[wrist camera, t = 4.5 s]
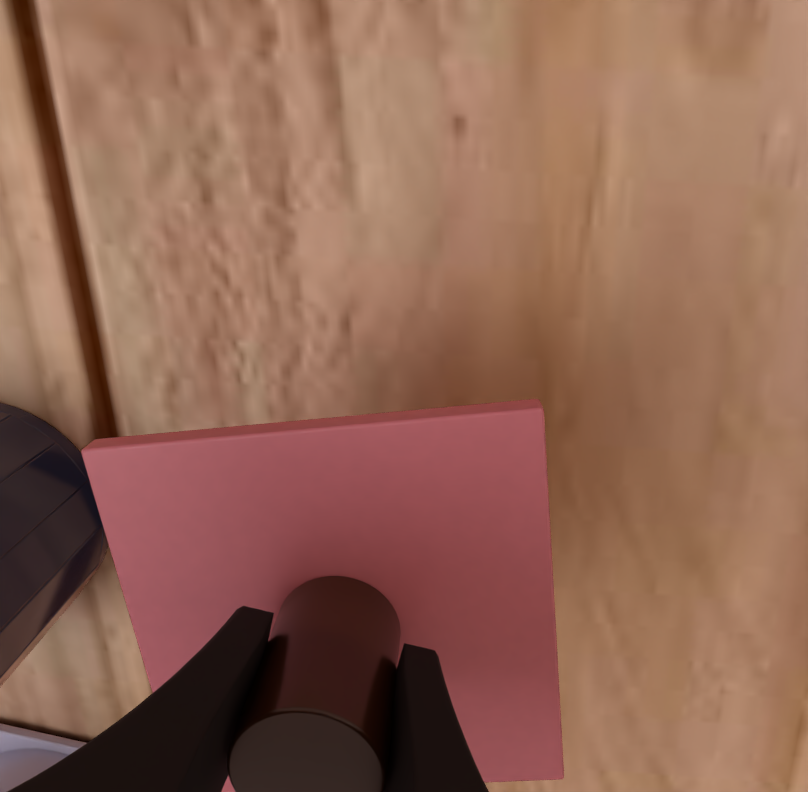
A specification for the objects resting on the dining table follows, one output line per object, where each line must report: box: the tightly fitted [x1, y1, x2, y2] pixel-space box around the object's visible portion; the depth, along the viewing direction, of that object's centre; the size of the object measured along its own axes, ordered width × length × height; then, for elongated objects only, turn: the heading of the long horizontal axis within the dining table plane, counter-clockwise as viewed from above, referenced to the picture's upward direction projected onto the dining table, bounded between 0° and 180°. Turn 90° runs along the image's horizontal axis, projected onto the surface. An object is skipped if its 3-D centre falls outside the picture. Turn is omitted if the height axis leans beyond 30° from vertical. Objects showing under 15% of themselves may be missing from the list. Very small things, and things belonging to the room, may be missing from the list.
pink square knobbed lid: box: [81, 399, 564, 792], centre depth 13 cm, size 9×9×4 cm
